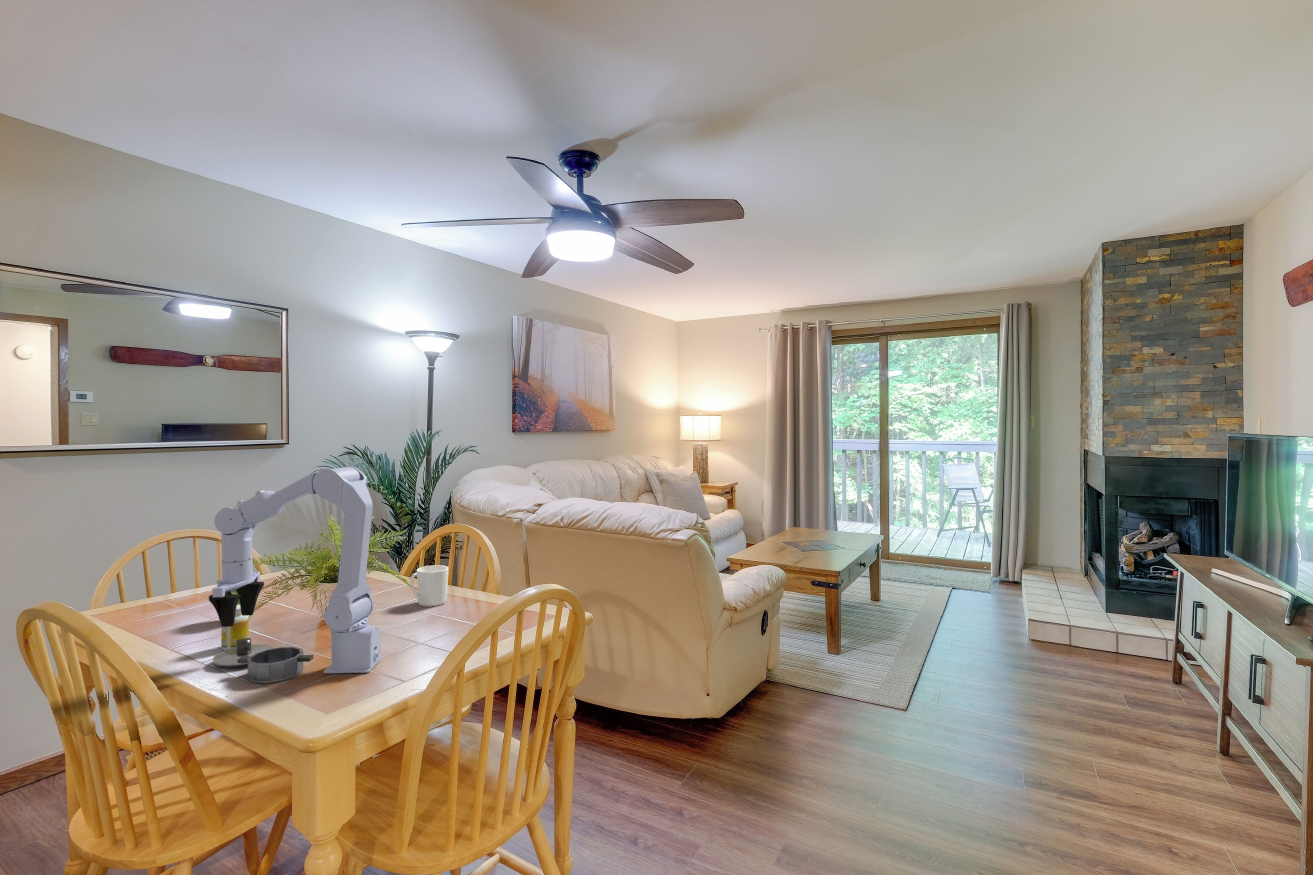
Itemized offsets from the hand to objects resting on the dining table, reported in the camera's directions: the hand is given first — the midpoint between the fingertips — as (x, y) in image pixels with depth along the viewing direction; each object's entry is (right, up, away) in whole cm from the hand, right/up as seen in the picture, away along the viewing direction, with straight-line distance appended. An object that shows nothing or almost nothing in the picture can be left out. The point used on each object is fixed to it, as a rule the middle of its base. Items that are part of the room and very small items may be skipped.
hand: (237, 620), depth 137 cm
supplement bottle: (-7, -9, +10) cm, 15 cm away
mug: (+26, -9, +46) cm, 53 cm away
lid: (0, -10, +1) cm, 10 cm away
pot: (+12, -10, -6) cm, 16 cm away
